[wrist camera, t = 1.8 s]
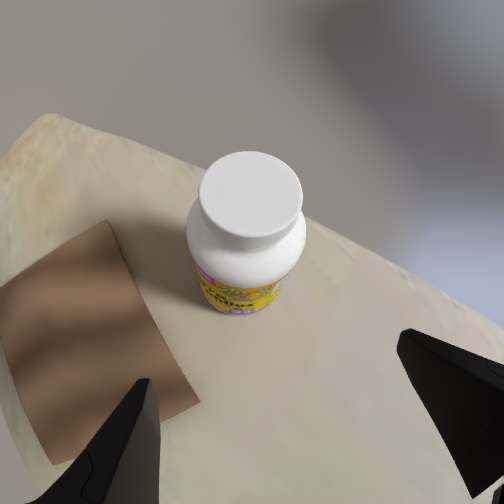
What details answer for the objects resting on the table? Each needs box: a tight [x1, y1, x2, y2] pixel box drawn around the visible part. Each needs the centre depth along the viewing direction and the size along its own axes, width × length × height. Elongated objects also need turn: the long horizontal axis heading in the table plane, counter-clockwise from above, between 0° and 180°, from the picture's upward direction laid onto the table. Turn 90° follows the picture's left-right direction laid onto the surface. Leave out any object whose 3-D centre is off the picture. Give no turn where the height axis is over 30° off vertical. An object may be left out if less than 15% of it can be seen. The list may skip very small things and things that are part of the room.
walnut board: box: [0, 219, 201, 465], centre depth 20 cm, size 18×16×1 cm
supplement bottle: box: [186, 151, 306, 316], centre depth 18 cm, size 7×7×13 cm
